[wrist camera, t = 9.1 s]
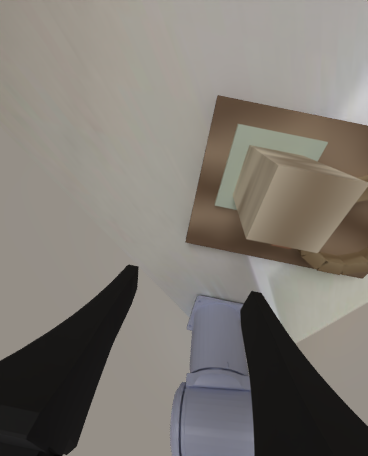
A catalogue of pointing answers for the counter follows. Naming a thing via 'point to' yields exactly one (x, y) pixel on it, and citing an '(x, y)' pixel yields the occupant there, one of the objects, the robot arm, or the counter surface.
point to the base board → (332, 156)
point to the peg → (292, 199)
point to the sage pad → (265, 140)
